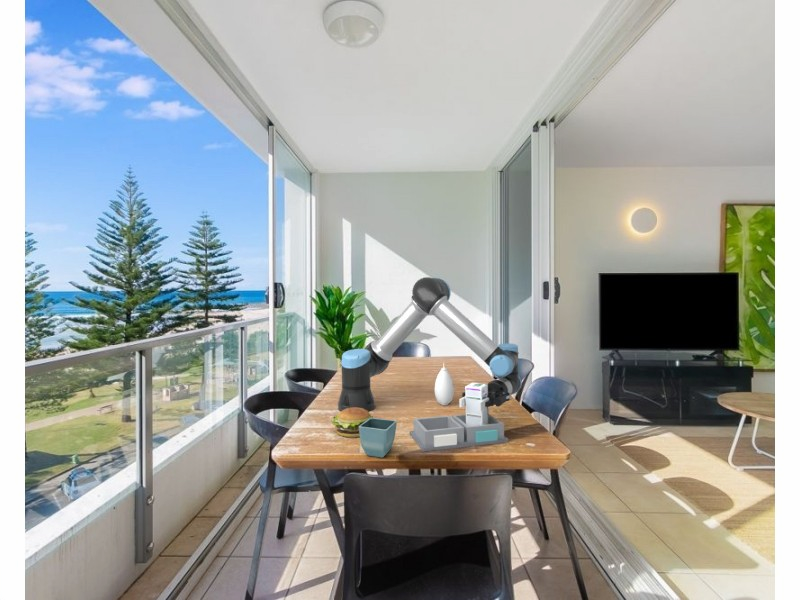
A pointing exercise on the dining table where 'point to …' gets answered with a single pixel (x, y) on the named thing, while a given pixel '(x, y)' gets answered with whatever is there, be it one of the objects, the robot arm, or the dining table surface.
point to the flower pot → (377, 436)
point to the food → (350, 421)
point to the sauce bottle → (444, 387)
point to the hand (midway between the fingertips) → (469, 405)
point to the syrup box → (476, 404)
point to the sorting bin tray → (455, 432)
